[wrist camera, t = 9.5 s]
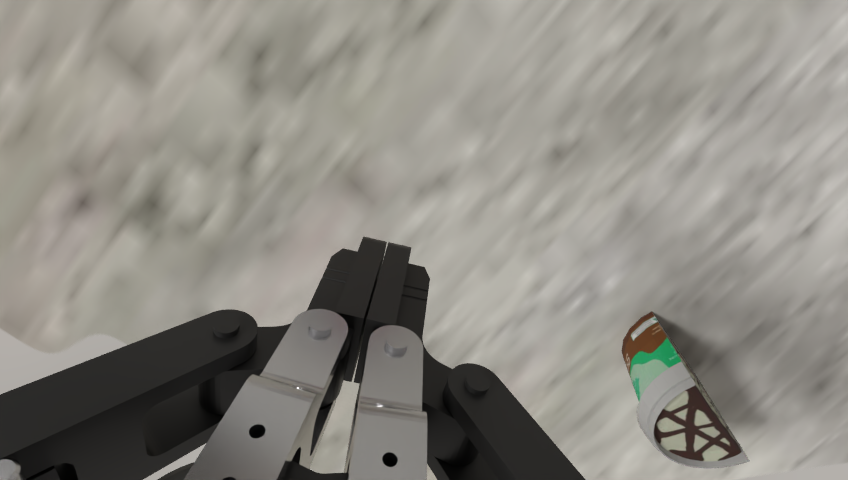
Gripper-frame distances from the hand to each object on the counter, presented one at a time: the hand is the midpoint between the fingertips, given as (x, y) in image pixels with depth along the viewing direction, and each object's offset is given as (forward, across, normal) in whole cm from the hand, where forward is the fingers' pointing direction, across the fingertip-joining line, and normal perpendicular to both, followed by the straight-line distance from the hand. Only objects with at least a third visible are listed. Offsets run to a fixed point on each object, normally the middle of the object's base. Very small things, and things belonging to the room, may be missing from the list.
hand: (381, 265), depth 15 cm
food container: (+25, -27, +22) cm, 43 cm away
